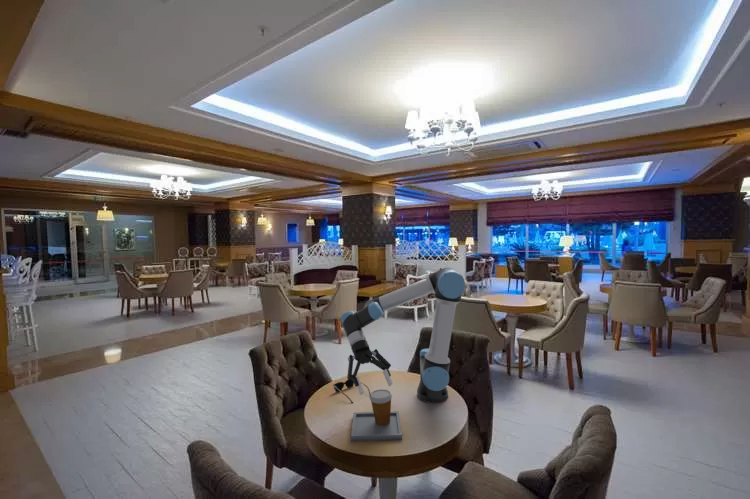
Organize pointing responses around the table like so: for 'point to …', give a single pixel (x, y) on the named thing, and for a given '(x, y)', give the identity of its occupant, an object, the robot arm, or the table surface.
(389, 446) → the table surface
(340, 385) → the sunglasses
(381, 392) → the disposable coffee cup
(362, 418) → the serving tray
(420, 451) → the table surface
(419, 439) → the table surface
